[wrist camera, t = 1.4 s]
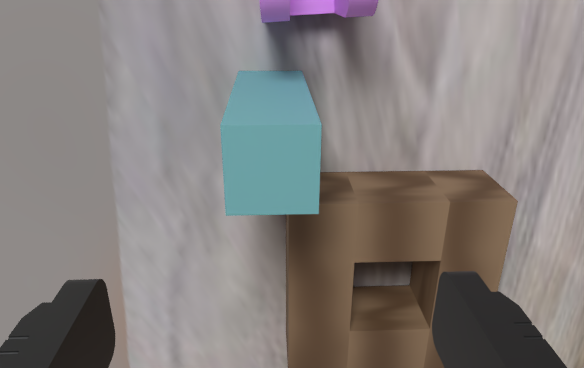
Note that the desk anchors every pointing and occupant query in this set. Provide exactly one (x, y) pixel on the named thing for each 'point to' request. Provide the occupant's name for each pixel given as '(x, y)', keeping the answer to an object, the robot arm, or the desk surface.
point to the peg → (271, 145)
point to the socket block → (387, 248)
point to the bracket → (314, 8)
